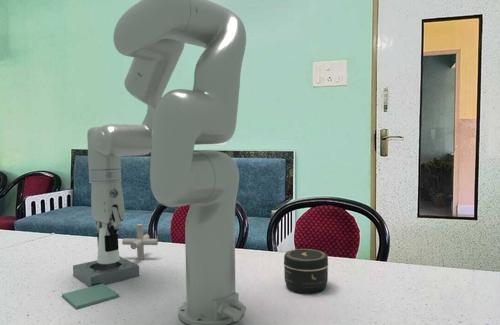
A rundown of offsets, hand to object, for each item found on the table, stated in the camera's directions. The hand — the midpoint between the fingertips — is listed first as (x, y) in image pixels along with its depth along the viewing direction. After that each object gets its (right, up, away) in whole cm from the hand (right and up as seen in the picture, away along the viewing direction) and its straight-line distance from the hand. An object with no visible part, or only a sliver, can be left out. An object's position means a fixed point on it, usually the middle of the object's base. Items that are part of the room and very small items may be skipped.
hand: (108, 248), depth 98 cm
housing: (-1, -7, 0) cm, 7 cm away
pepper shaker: (0, -3, 0) cm, 4 cm away
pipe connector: (+4, -6, +14) cm, 16 cm away
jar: (+49, -7, -9) cm, 50 cm away
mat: (+1, -8, -13) cm, 15 cm away
